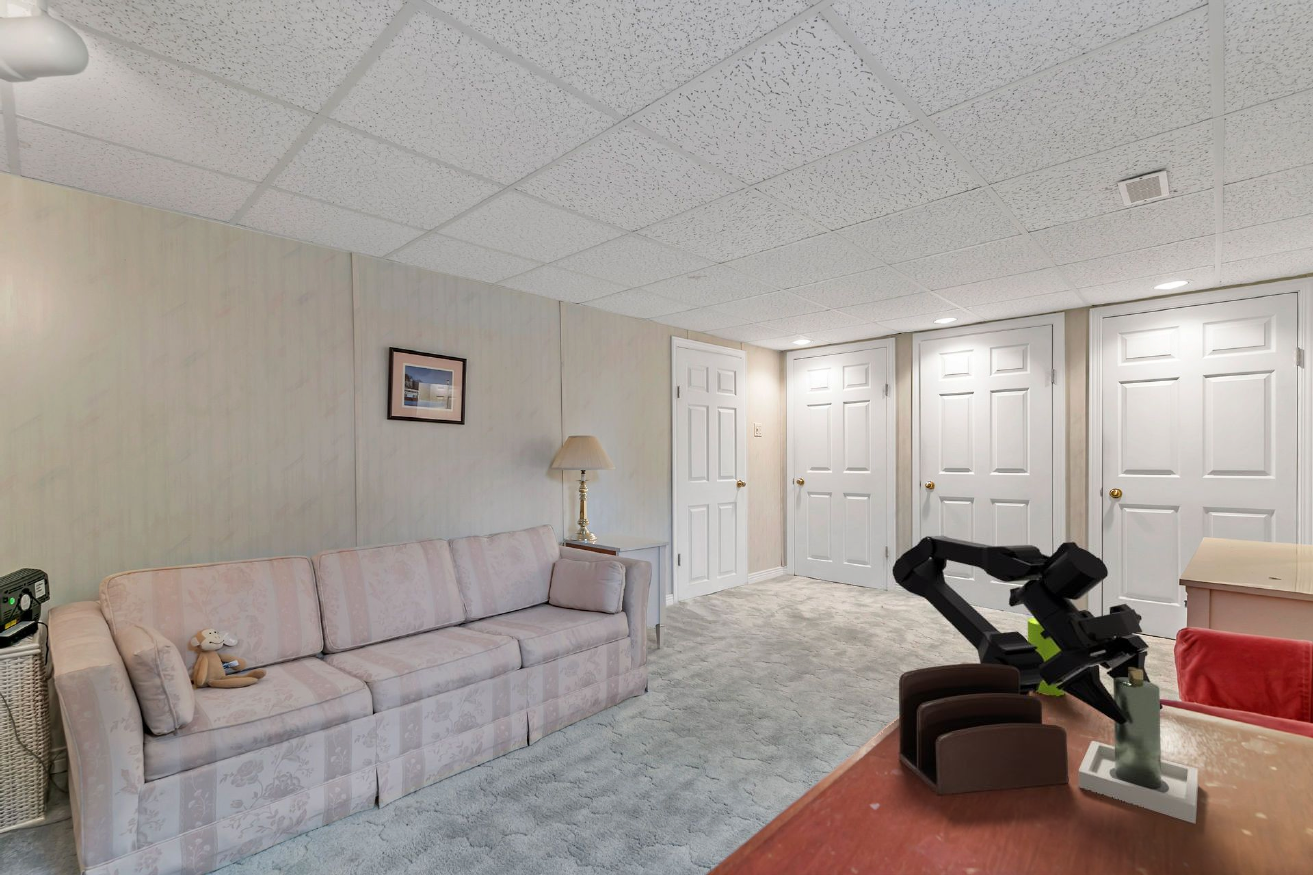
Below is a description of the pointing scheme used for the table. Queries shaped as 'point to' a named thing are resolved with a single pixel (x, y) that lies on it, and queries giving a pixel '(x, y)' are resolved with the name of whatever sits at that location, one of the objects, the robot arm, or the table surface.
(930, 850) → the table surface
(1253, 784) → the table surface
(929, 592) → the robot arm
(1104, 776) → the tray
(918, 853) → the table surface
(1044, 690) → the soap dispenser
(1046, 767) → the letter holder
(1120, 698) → the green bottle
